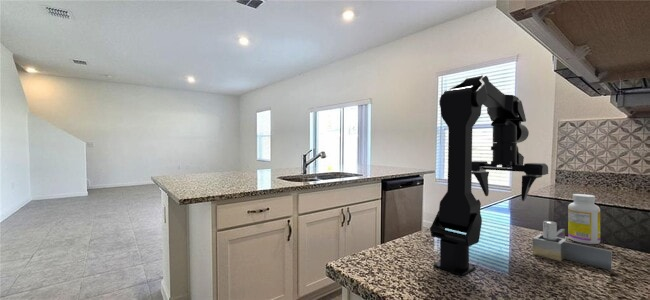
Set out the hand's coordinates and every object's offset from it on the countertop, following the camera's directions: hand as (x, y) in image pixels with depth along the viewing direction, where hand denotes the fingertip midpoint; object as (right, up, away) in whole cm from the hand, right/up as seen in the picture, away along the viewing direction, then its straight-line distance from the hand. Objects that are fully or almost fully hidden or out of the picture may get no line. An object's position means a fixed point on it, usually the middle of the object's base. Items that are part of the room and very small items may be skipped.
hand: (504, 198), depth 79 cm
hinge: (+11, -12, -10) cm, 19 cm away
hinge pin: (+4, -12, -10) cm, 17 cm away
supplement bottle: (+22, -12, 0) cm, 25 cm away
